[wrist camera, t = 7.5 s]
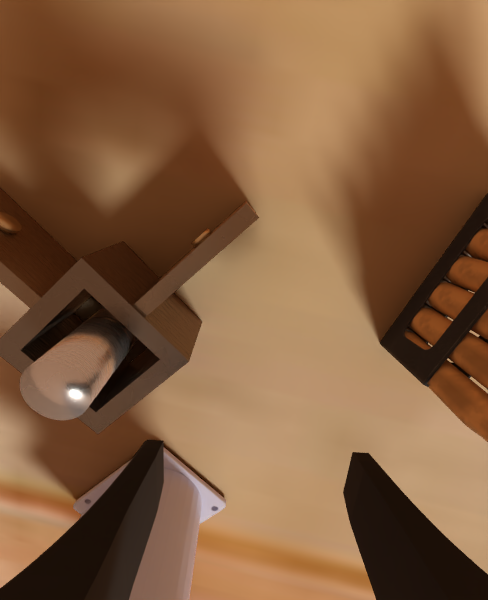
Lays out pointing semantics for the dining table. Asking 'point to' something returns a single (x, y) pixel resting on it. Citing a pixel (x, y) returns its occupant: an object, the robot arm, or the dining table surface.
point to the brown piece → (103, 302)
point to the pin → (76, 367)
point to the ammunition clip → (451, 326)
